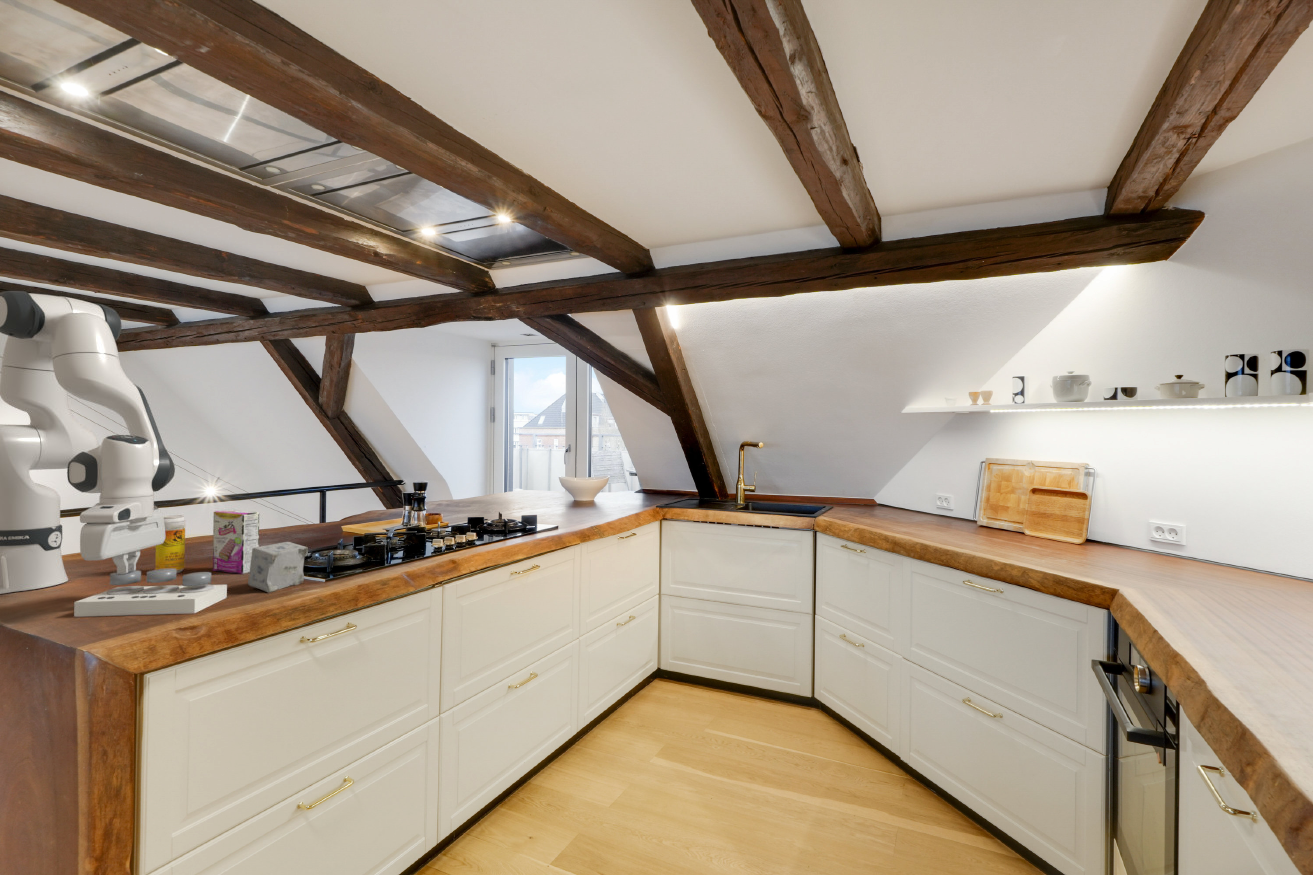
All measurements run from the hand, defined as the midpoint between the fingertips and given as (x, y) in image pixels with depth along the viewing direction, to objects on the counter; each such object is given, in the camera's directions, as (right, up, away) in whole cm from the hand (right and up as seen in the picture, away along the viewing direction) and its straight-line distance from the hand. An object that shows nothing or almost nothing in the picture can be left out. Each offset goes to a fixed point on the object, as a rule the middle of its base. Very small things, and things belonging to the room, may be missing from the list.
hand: (126, 572), depth 128 cm
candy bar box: (0, -7, +33) cm, 33 cm away
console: (+7, -7, -1) cm, 10 cm away
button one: (+14, -3, +2) cm, 14 cm away
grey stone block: (+22, -8, +17) cm, 29 cm away
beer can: (-15, -7, +30) cm, 35 cm away
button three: (+7, -2, +1) cm, 7 cm away
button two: (0, -2, 0) cm, 2 cm away
